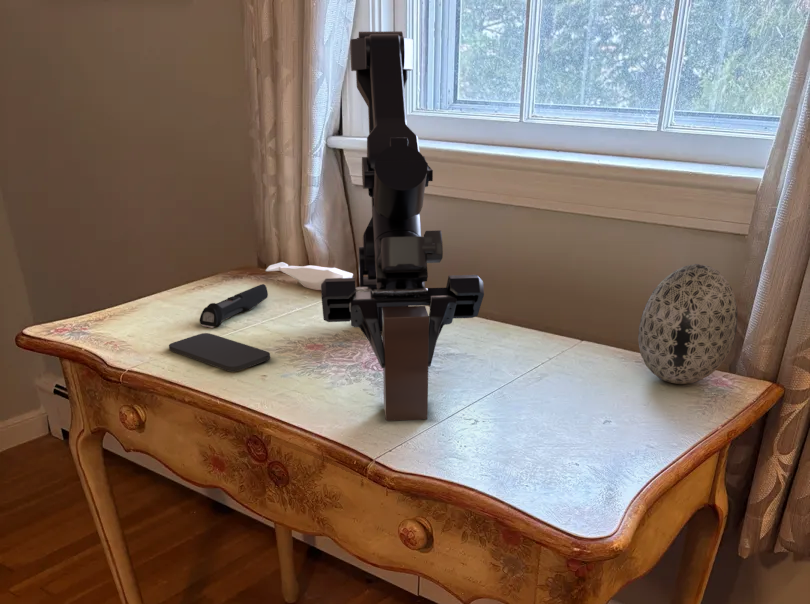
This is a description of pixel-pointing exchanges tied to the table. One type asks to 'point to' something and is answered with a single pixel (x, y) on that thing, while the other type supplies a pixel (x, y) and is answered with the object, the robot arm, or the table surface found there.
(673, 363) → the decorative egg
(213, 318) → the electric trimmer
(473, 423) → the table surface
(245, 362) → the phone
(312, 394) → the table surface
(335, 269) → the white fish figurine
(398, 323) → the walnut block
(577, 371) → the table surface
